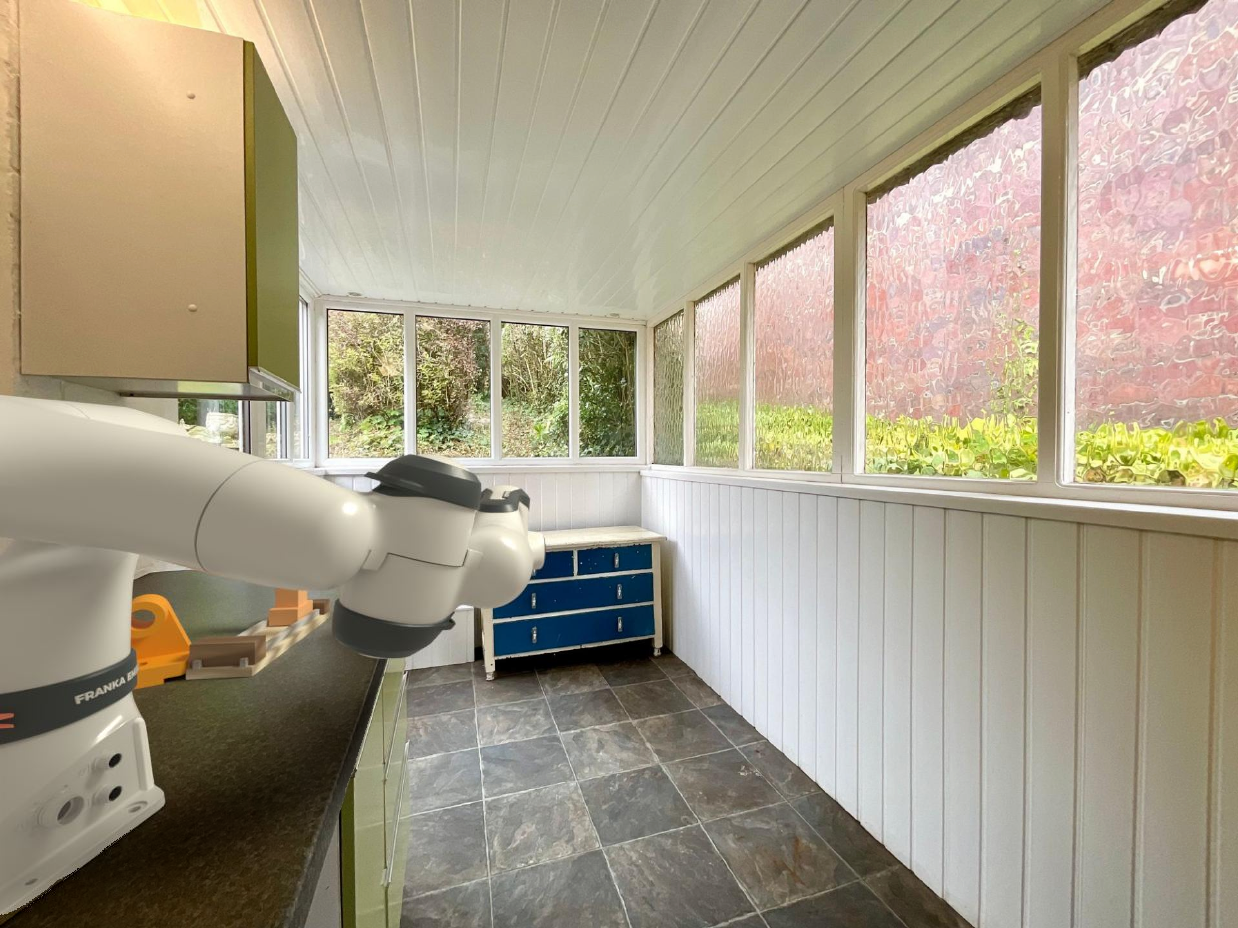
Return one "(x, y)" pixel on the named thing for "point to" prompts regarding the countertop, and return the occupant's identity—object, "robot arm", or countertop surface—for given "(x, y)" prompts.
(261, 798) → the countertop surface
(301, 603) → the slider
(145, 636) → the bracket
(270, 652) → the rail board
